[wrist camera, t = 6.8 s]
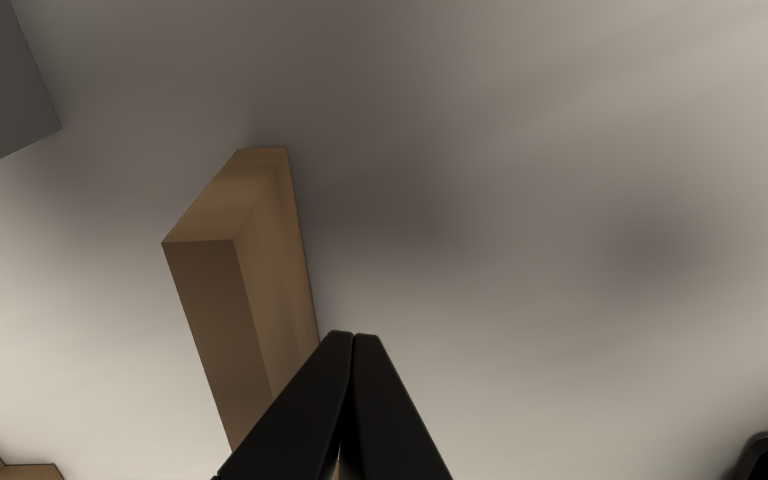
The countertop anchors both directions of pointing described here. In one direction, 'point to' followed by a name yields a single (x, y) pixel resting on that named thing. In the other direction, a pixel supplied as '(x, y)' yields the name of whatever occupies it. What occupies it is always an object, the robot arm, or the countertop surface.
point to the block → (21, 89)
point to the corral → (46, 472)
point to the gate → (245, 285)
